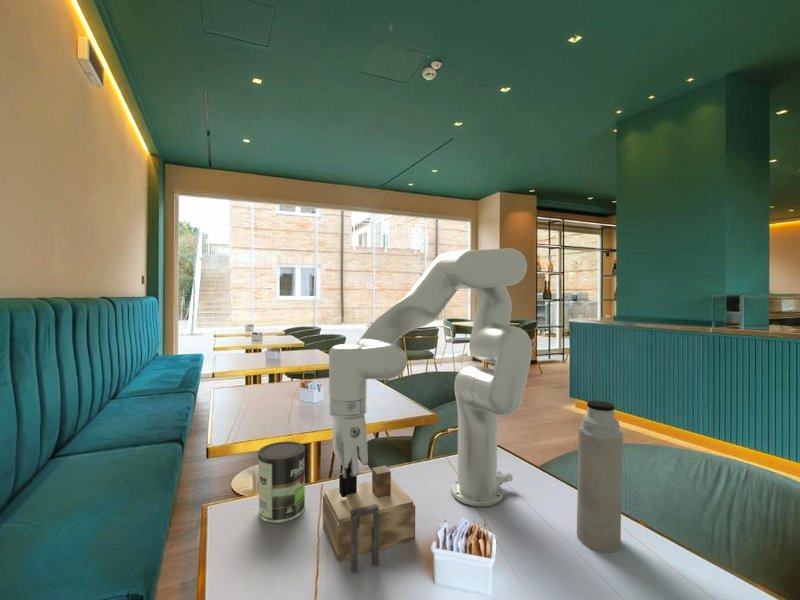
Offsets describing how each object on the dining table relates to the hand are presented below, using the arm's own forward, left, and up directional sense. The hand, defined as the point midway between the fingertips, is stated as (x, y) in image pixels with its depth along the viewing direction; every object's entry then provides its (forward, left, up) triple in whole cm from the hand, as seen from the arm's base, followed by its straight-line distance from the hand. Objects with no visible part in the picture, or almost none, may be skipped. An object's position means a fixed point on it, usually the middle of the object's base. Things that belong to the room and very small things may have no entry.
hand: (348, 494), depth 82 cm
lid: (-4, +1, -3) cm, 5 cm away
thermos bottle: (-46, +22, -9) cm, 52 cm away
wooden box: (-4, +3, -9) cm, 10 cm away
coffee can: (+11, -15, -9) cm, 21 cm away
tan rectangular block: (0, +6, -1) cm, 7 cm away
